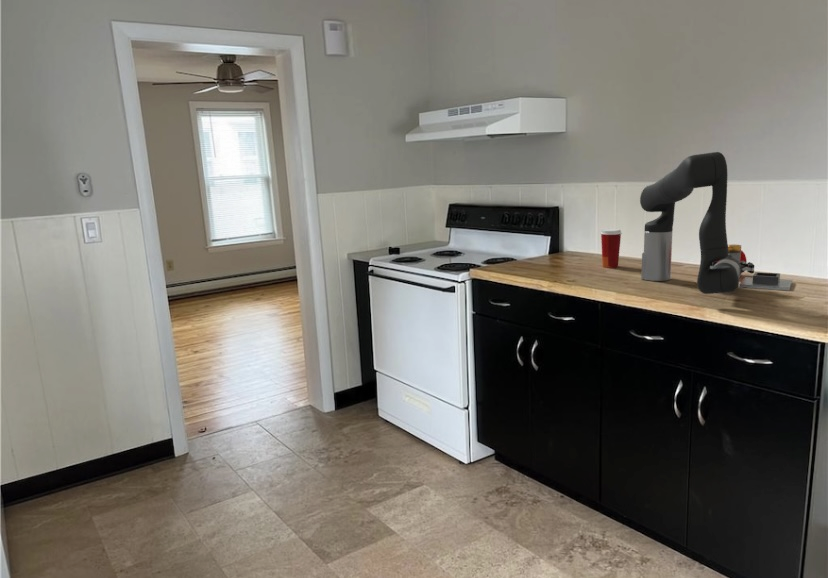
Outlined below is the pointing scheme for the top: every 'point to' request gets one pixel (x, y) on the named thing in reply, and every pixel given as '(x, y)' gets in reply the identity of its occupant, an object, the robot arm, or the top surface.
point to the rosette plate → (766, 281)
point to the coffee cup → (610, 247)
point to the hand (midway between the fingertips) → (734, 263)
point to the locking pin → (734, 253)
